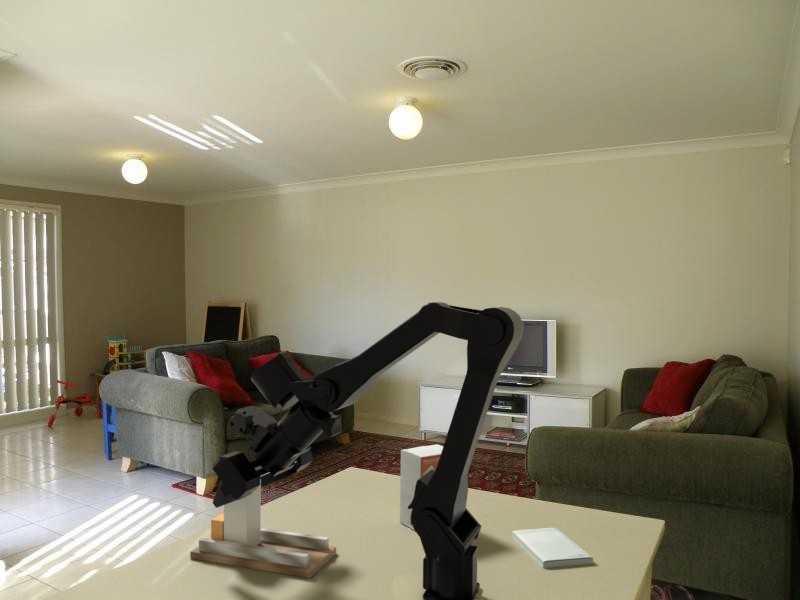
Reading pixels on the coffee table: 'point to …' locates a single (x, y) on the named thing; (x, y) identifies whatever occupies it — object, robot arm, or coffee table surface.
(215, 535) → the block
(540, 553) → the hard drive
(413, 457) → the small box
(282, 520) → the coffee table surface
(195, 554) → the rail board
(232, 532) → the block
